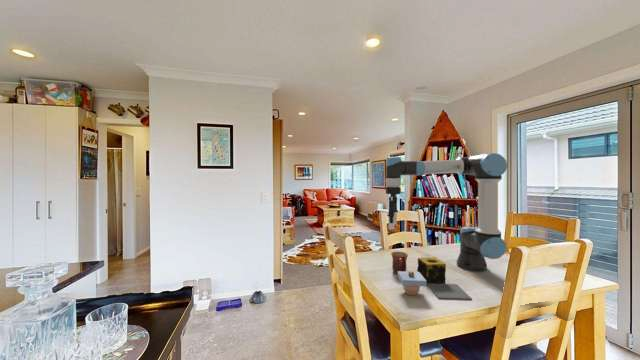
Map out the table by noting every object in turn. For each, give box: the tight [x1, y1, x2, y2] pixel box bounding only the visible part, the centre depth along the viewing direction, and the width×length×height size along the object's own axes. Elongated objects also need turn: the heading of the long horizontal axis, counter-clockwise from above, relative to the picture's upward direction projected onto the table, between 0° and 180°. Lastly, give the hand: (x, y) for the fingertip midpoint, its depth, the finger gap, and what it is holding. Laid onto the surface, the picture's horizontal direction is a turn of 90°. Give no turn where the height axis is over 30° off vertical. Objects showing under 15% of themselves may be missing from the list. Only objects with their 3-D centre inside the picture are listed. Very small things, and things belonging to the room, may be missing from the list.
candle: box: [416, 257, 447, 285], centre depth 128 cm, size 10×10×10 cm
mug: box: [390, 251, 409, 275], centre depth 136 cm, size 12×9×10 cm
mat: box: [426, 283, 473, 301], centre depth 115 cm, size 14×14×1 cm
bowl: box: [402, 285, 421, 296], centre depth 114 cm, size 7×7×5 cm
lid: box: [397, 270, 427, 287], centre depth 114 cm, size 10×10×4 cm
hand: (392, 226), depth 132 cm, fingers open, 13 cm apart
